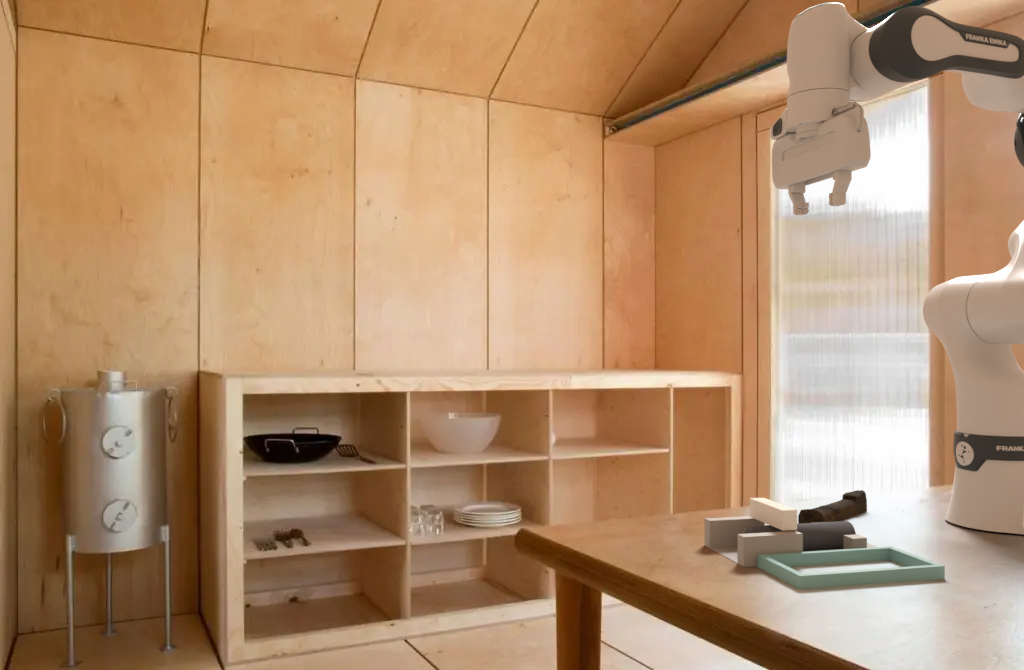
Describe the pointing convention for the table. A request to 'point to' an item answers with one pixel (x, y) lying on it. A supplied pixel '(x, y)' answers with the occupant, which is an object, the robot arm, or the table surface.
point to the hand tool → (836, 509)
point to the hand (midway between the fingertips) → (818, 210)
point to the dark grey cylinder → (815, 534)
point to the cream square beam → (773, 513)
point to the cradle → (758, 540)
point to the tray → (913, 571)
